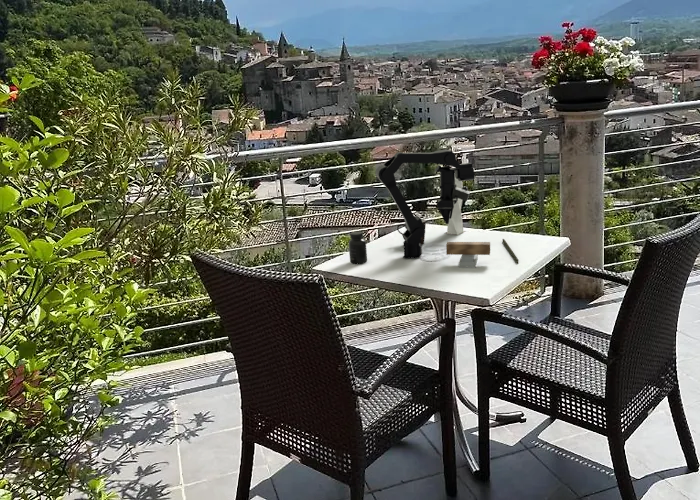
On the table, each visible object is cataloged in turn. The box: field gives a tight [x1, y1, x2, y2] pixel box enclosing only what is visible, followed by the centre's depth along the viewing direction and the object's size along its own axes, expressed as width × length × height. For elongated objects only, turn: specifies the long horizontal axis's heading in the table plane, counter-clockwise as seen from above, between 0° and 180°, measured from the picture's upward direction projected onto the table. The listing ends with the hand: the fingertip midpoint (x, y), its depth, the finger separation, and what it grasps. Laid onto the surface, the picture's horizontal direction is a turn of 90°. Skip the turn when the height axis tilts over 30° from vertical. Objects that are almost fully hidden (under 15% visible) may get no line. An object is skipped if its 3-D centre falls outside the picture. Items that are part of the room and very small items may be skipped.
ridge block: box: [458, 255, 479, 268], centre depth 256 cm, size 6×10×4 cm, turn 165°
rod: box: [502, 238, 519, 264], centre depth 267 cm, size 31×1×2 cm, turn 177°
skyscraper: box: [443, 178, 467, 236], centre depth 299 cm, size 8×8×28 cm
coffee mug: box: [396, 218, 427, 246], centre depth 289 cm, size 12×9×10 cm
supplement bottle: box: [348, 231, 368, 265], centre depth 266 cm, size 7×7×12 cm
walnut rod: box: [445, 241, 491, 256], centre depth 255 cm, size 16×4×4 cm, turn 75°
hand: (448, 221), depth 269 cm, fingers open, 9 cm apart
